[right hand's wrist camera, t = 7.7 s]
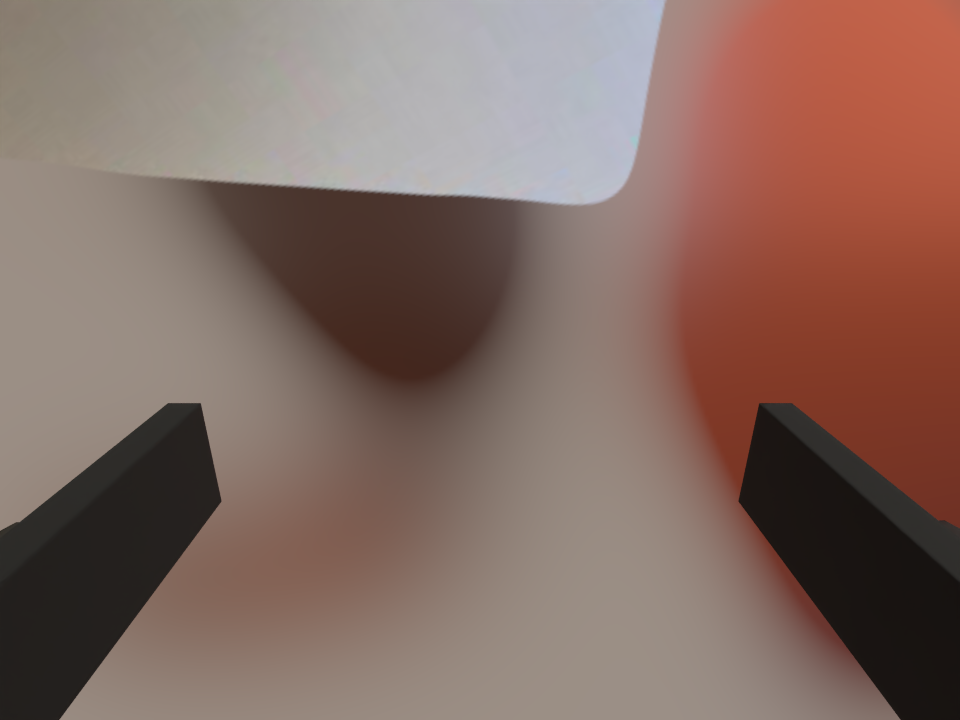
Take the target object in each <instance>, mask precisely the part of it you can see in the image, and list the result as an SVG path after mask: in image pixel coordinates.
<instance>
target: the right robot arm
mask: <svg viewBox="0 0 960 720" xmlns="http://www.w3.org/2000/svg"><path fill="white" fill-rule="evenodd" d="M220 503H221V497H220V492H219V487H218V483H217V478H216V473H215V469H214V464H213V459H212V454H211V450H210V445H209V440H208V436H207V431H206V426H205V422H204V417H203V412H202V407H201V404H200V403H168V404H167V405H165V406H164V407H163V408H162V409H160V410H159V411H158V412H157V413H155V414H154V415H153V416H152V417H150V418H149V419H148V420H147V421H145V422H144V423H143V424H142V425H140V426H139V427H138V428H137V429H135V430H134V431H133V432H132V433H130V434H129V435H128V436H127V437H126V438H124V439H123V440H122V441H120V442H119V443H118V444H117V445H116V446H114V447H113V448H112V449H111V450H109V451H108V452H107V453H105V454H104V455H103V456H102V457H101V458H99V459H98V460H97V461H96V462H94V463H93V464H92V465H91V466H89V467H88V468H87V469H86V470H84V471H83V472H82V473H81V474H79V475H78V476H77V477H76V478H74V479H73V480H72V481H71V482H69V483H68V484H67V485H66V486H64V487H63V488H62V489H61V490H59V491H58V492H57V493H56V494H54V495H53V496H52V497H51V498H49V499H48V500H47V501H46V502H44V503H43V504H42V505H41V506H39V507H38V508H37V509H36V510H34V511H33V512H32V513H31V514H29V515H28V516H27V517H26V518H24V519H23V520H22V521H21V522H16V523H14V524H12V525H10V526H9V527H7V528H5V529H3V530H1V531H0V720H59V719H60V718H61V717H62V715H63V714H64V713H65V711H66V710H67V708H68V707H69V706H70V704H71V703H72V702H73V700H74V699H75V698H76V696H77V695H78V694H79V692H80V691H81V690H82V688H83V687H84V686H85V684H86V683H87V682H88V680H89V679H90V678H91V676H92V675H93V674H94V672H95V671H96V669H97V668H98V667H99V665H100V664H101V663H102V661H103V660H104V659H105V657H106V656H107V655H108V653H109V652H110V651H111V649H112V648H113V647H114V645H115V644H116V643H117V641H118V640H119V639H120V637H121V636H122V635H123V633H124V632H125V630H126V629H127V628H128V626H129V625H130V624H131V622H132V621H133V620H134V618H135V617H136V616H137V614H138V613H139V612H140V610H141V609H142V608H143V606H144V605H145V604H146V602H147V601H148V600H149V598H150V597H151V595H152V594H153V593H154V591H155V590H156V589H157V587H158V586H159V585H160V583H161V582H162V581H163V579H164V578H165V577H166V575H167V574H168V573H169V571H170V570H171V569H172V567H173V566H174V565H175V563H176V562H177V560H178V559H179V558H180V556H181V555H182V554H183V552H184V551H185V550H186V548H187V547H188V546H189V544H190V543H191V542H192V540H193V539H194V538H195V536H196V535H197V534H198V532H199V531H200V530H201V528H202V527H203V525H204V524H205V523H206V521H207V520H208V519H209V517H210V516H211V515H212V513H213V512H214V511H215V509H216V508H217V507H218V505H219V504H220ZM739 503H740V504H741V505H742V507H743V508H744V509H745V511H746V512H747V513H748V515H749V516H750V517H751V519H752V520H753V521H754V523H755V524H756V525H757V527H758V528H759V530H760V531H761V532H762V534H763V535H764V536H765V538H766V539H767V540H768V542H769V543H770V544H771V546H772V547H773V548H774V550H775V551H776V552H777V554H778V555H779V556H780V558H781V559H782V560H783V562H784V563H785V564H786V566H787V567H788V569H789V570H790V571H791V573H792V574H793V575H794V577H795V578H796V579H797V581H798V582H799V583H800V585H801V586H802V587H803V589H804V590H805V591H806V593H807V594H808V595H809V597H810V598H811V600H812V601H813V602H814V604H815V605H816V606H817V608H818V609H819V610H820V612H821V613H822V614H823V616H824V617H825V618H826V620H827V621H828V622H829V624H830V625H831V626H832V628H833V629H834V630H835V632H836V633H837V635H838V636H839V637H840V639H841V640H842V641H843V643H844V644H845V645H846V647H847V648H848V649H849V651H850V652H851V653H852V655H853V656H854V657H855V659H856V660H857V661H858V663H859V664H860V665H861V667H862V668H863V670H864V671H865V672H866V674H867V675H868V676H869V678H870V679H871V680H872V682H873V683H874V684H875V686H876V687H877V688H878V690H879V691H880V692H881V694H882V695H883V696H884V698H885V699H886V700H887V702H888V703H889V705H890V706H891V707H892V709H893V710H894V711H895V713H896V714H897V715H898V717H899V718H900V719H901V720H960V528H958V527H956V526H954V525H952V524H950V523H948V522H946V521H938V520H937V519H936V518H934V517H933V516H932V515H931V514H929V513H928V512H927V511H926V510H924V509H923V508H922V507H921V506H919V505H918V504H917V503H916V502H914V501H913V500H912V499H911V498H909V497H908V496H907V495H906V494H904V493H903V492H902V491H901V490H899V489H898V488H897V487H896V486H894V485H893V484H892V483H891V482H889V481H888V480H887V479H886V478H884V477H883V476H882V475H881V474H879V473H878V472H877V471H876V470H874V469H873V468H872V467H871V466H869V465H868V464H867V463H866V462H864V461H863V460H862V459H861V458H859V457H858V456H857V455H856V454H854V453H853V452H852V451H851V450H850V449H848V448H847V447H846V446H845V445H843V444H842V443H841V442H840V441H838V440H837V439H836V438H835V437H833V436H832V435H831V434H830V433H828V432H827V431H826V430H825V429H823V428H822V427H821V426H820V425H818V424H817V423H816V422H815V421H813V420H812V419H811V418H810V417H808V416H807V415H806V414H805V413H803V412H802V411H801V410H800V409H798V408H797V407H796V406H795V405H793V404H792V403H760V404H759V407H758V412H757V417H756V421H755V426H754V431H753V436H752V440H751V445H750V450H749V454H748V459H747V464H746V468H745V473H744V478H743V483H742V487H741V492H740V497H739Z"/></svg>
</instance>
